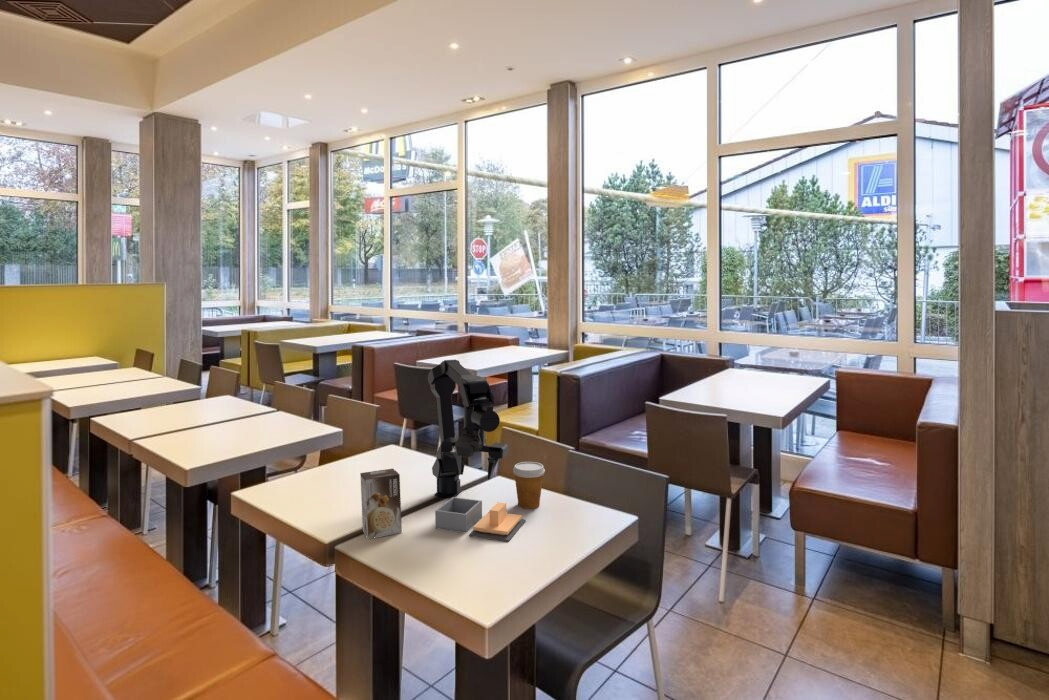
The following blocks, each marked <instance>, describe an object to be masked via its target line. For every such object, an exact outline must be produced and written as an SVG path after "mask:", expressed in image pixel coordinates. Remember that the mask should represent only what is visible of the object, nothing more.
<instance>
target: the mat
mask: <svg viewBox="0 0 1049 700" xmlns="http://www.w3.org/2000/svg"><path fill="white" fill-rule="evenodd" d="M526 521H527V520H526V519H524V518H521V520H520V521H519V522H518V523H517V524H516V525H515V527H514V528H513V529H512V530H511V531H510V532H509V534H508V535H499V534H492V533H485V532H479V531H477V530H473V529H472V531H470V533H469V534H468V536H469V537H472V538H478V539H479V538H480V539H488V540H493V541H498V542H499V541H501V542H502V541H503V542H507V543H510V541H511V540H512V539H513V538H514V537H515V535H516V534H517V532H519V530H520V529H521V528H522V527H523V526H524V524H525V523H526Z"/></svg>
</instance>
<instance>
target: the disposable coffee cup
mask: <svg viewBox="0 0 1049 700" xmlns="http://www.w3.org/2000/svg"><path fill="white" fill-rule="evenodd" d="M512 472H513V474H514V480H515V487H516V489H515V490H516V496H517V502H518V503H517V504H518V507H519V508H521V509H525V510H533V509H537V508H539V507H540V503H541V494H542V489H543V488H542V487H543V481H544V475H545V472H546V470H545V468H544V465H543V463H540V462H535V461H521V462H518V463H516V464H515V465H514V467H513V469H512Z"/></svg>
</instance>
